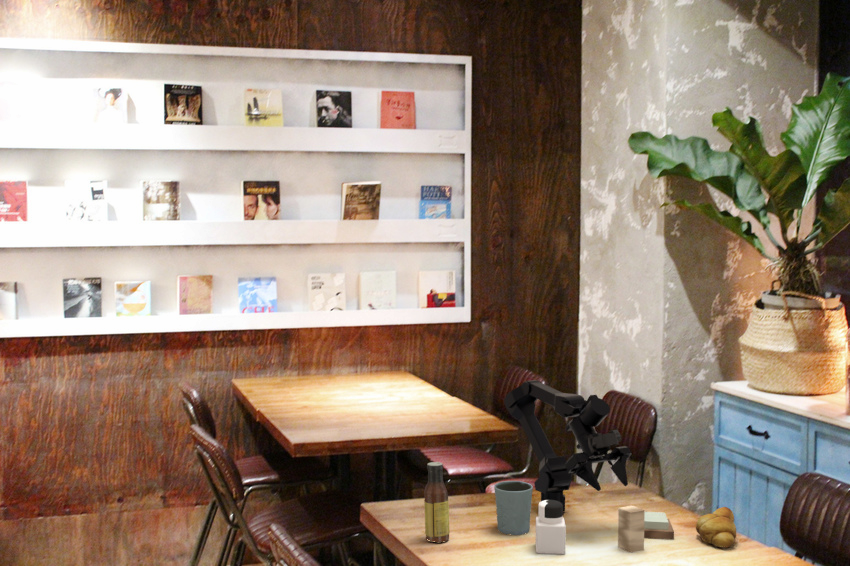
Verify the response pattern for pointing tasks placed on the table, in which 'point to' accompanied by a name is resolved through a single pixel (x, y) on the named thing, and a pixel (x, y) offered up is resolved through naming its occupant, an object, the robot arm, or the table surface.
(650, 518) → the sage slab
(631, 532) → the oak block
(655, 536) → the walnut base slab
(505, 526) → the teal cup
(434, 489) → the sauce bottle
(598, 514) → the table surface
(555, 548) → the medicine bottle
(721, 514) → the bread roll
